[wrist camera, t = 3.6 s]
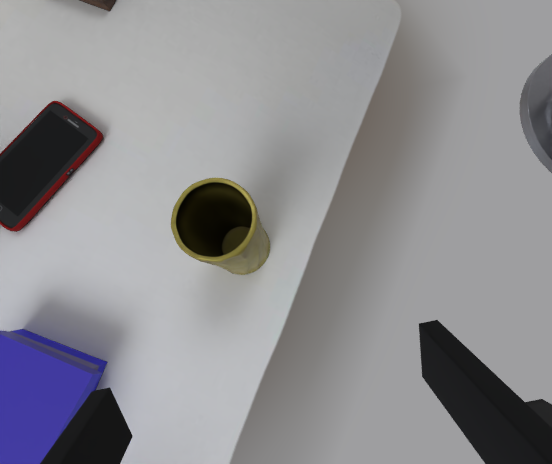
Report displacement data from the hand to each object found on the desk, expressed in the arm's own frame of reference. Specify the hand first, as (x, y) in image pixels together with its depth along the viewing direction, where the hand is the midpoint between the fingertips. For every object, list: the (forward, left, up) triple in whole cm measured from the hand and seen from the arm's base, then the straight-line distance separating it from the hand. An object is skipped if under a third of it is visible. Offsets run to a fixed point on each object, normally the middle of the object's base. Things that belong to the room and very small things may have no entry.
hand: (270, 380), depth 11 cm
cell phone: (+21, -24, -18) cm, 37 cm away
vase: (+1, -8, -18) cm, 20 cm away
